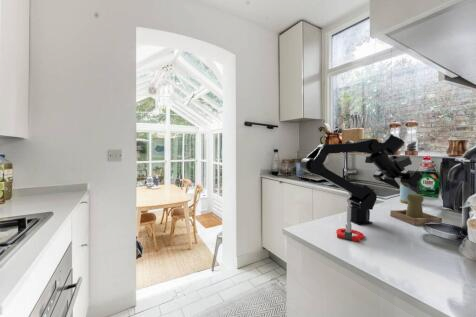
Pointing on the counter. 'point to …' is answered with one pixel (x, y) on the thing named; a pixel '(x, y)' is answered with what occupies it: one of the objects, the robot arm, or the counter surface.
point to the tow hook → (349, 228)
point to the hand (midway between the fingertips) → (408, 190)
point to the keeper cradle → (414, 221)
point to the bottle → (405, 193)
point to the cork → (415, 206)
